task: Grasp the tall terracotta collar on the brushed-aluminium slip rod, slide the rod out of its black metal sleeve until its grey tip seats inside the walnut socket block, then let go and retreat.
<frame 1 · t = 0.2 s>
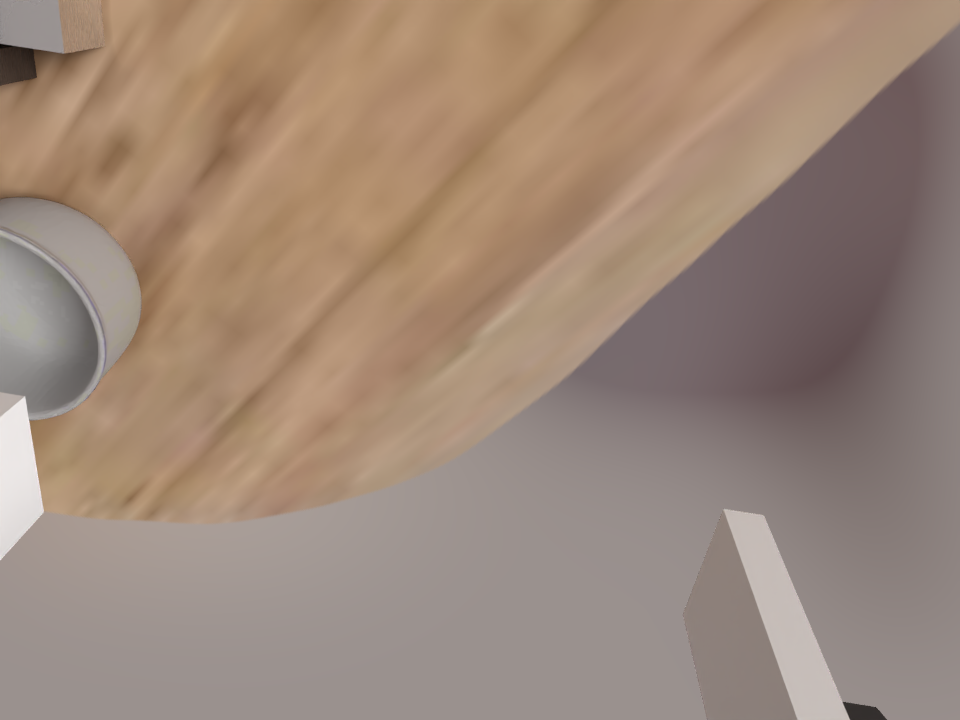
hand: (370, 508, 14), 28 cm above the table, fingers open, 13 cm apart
teacup: (68, 291, 44), on the table
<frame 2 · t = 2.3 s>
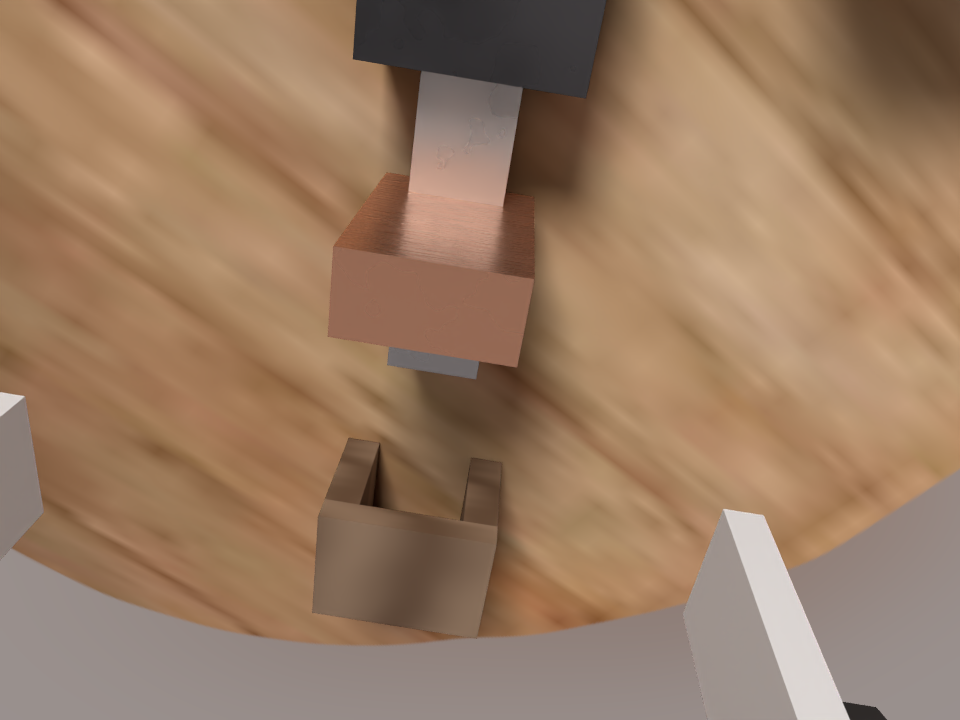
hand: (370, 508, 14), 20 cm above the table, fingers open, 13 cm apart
socket: (419, 496, 40), on the table
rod: (478, 13, 24), point 6 cm above the table, slide at 0.0 cm
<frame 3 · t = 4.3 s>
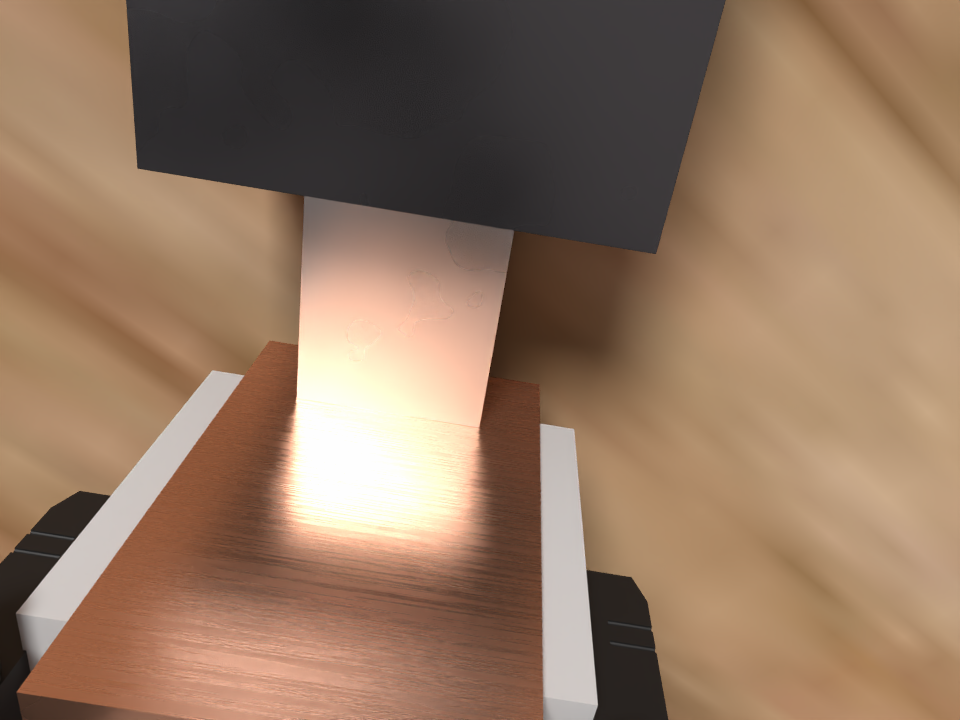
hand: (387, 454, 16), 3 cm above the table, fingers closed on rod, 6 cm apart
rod: (410, 70, 10), point 6 cm above the table, slide at 0.0 cm, touching gripper
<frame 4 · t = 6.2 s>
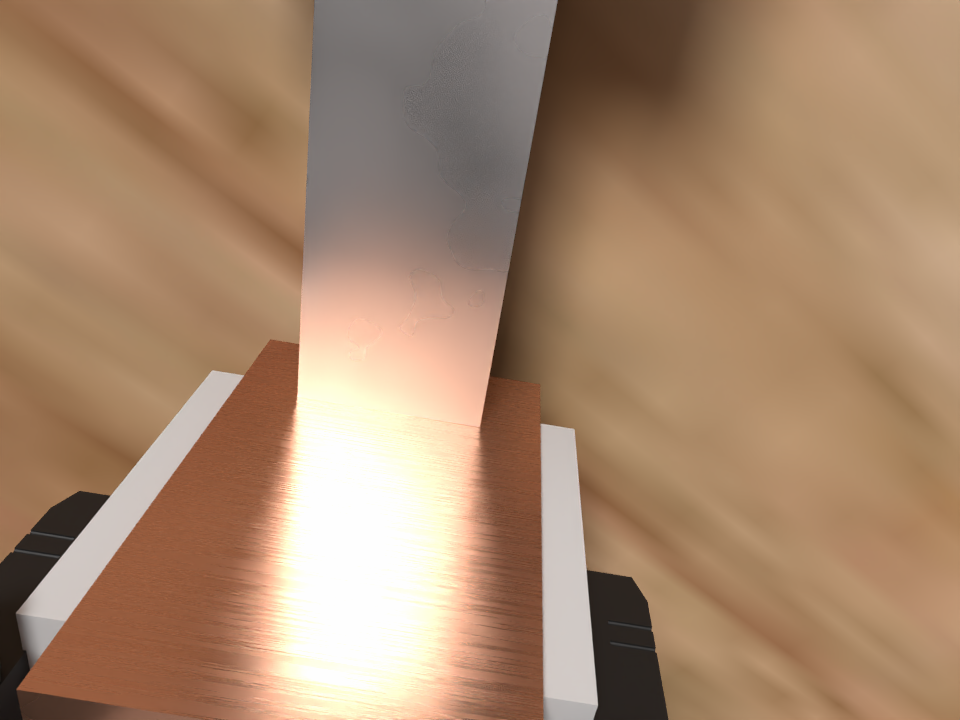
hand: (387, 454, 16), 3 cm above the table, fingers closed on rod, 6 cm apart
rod: (413, 69, 10), point 6 cm above the table, slide at 6.1 cm, touching gripper
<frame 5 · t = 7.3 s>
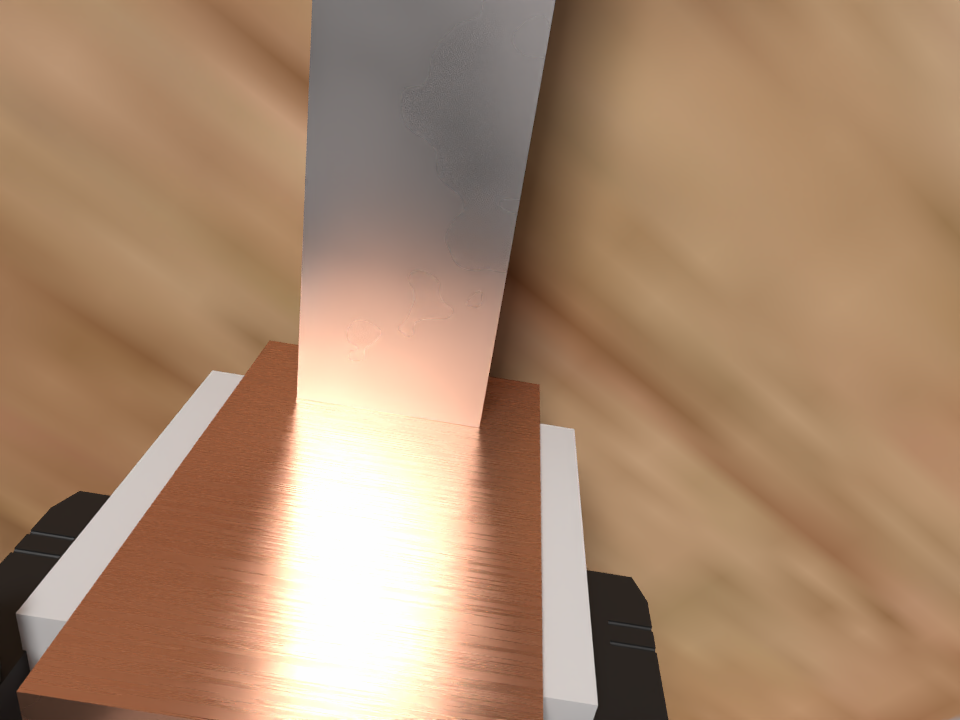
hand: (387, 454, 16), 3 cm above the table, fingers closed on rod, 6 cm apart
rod: (411, 70, 10), point 6 cm above the table, slide at 10.0 cm, touching gripper
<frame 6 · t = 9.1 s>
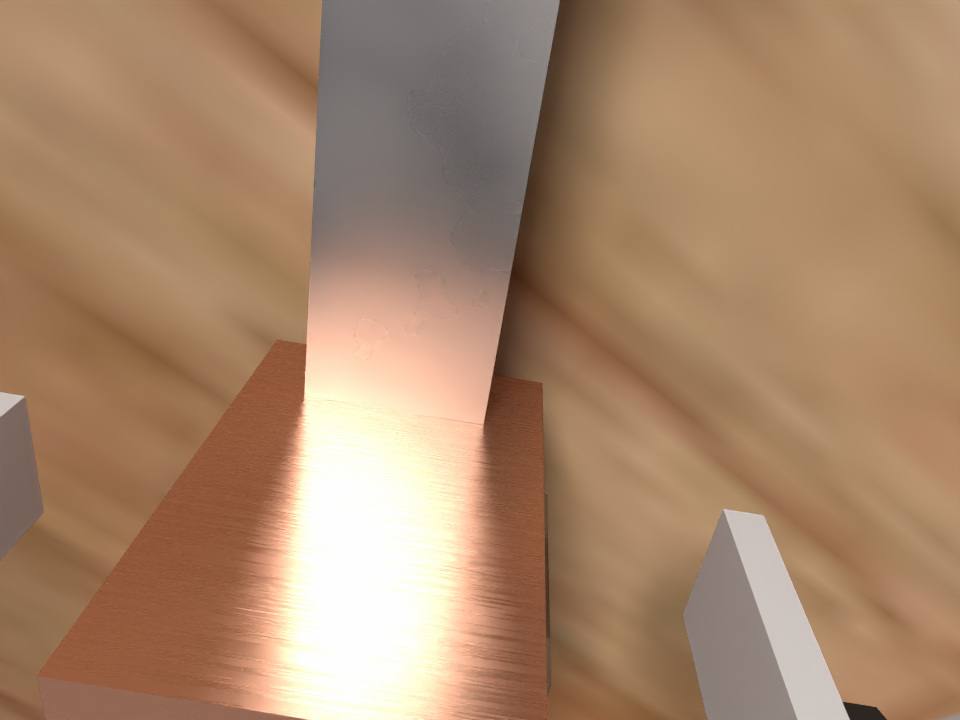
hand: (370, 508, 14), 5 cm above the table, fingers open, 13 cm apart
socket: (393, 553, 22), on the table
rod: (418, 75, 10), point 6 cm above the table, slide at 10.0 cm
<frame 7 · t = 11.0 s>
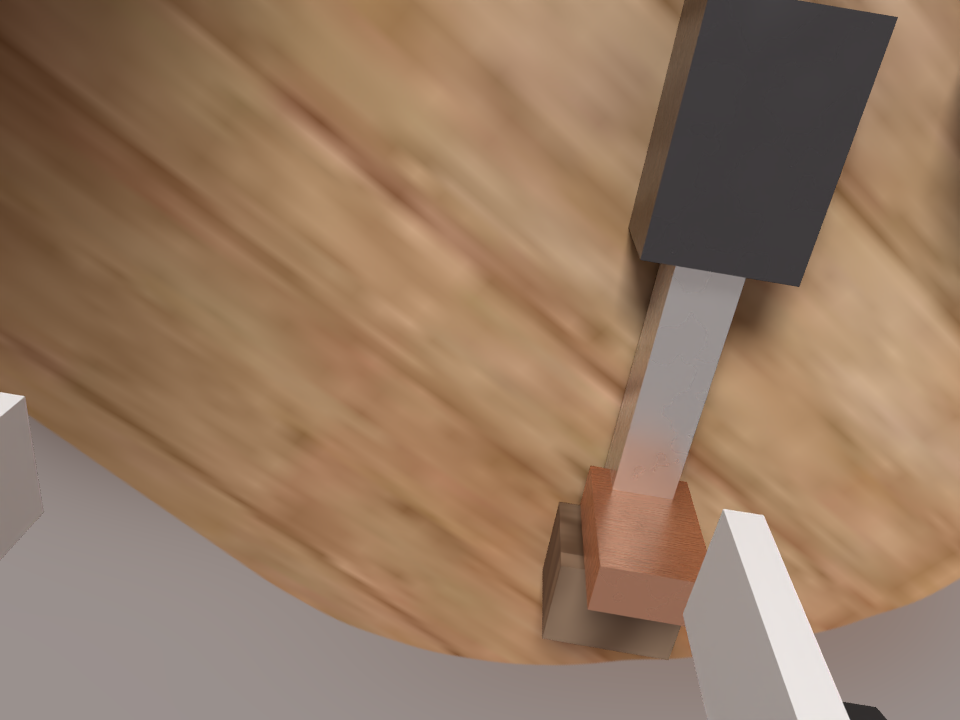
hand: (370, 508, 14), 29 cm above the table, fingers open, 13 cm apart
sleeve: (730, 128, 38), on the table
socket: (608, 546, 51), on the table
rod: (676, 414, 39), point 6 cm above the table, slide at 10.0 cm
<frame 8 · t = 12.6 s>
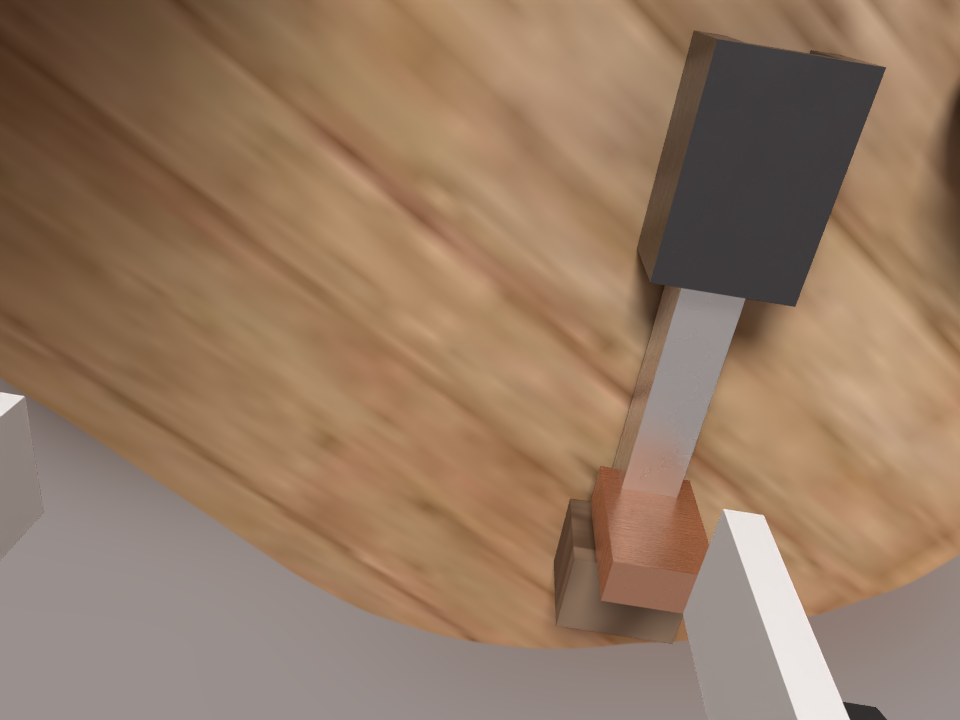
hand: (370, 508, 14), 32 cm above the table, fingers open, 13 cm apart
sleeve: (732, 158, 41), on the table
socket: (615, 539, 55), on the table
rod: (681, 421, 43), point 6 cm above the table, slide at 10.0 cm
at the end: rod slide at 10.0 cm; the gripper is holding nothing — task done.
